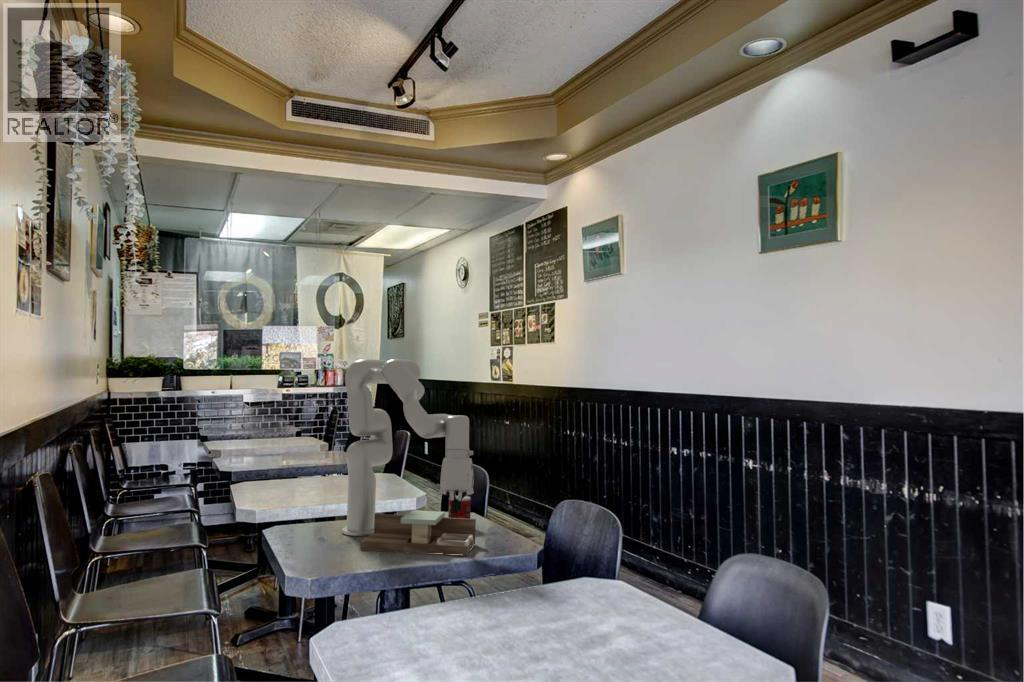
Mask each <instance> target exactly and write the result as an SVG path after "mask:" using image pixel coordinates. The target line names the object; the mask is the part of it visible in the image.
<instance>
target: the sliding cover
mask: <svg viewBox="0 0 1024 682" xmlns="http://www.w3.org/2000/svg"><path fill="white" fill-rule="evenodd" d="M404 515H405V516H403V517H402V518H401V523H404V524H423V525H436V524H437V523H438V522H439V521H440V520H441V519H442V518H443V517H446V516H445V515H446V514H445V511H435V510H434V511H433V510H419V509H417V510H416V509H412V510H411V511H409V512H408V513H406V514H404Z"/></svg>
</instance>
